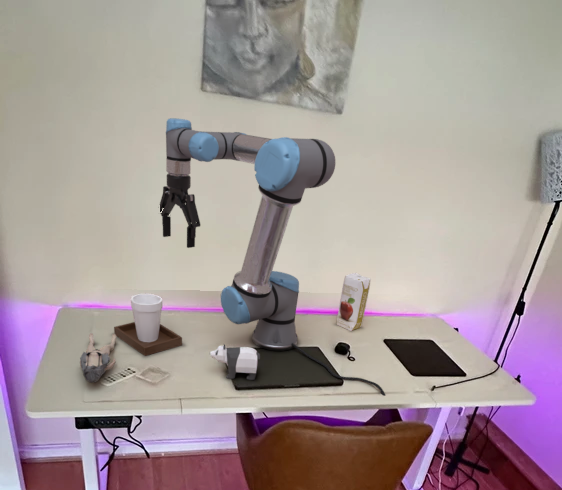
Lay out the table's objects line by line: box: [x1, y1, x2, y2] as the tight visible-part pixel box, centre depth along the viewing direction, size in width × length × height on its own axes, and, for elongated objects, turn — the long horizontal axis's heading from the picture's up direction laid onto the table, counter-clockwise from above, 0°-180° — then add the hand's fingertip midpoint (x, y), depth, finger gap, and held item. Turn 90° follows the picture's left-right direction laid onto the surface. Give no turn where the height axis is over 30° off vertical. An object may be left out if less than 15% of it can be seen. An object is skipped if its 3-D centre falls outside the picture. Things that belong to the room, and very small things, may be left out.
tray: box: [113, 321, 183, 357], centre depth 165 cm, size 18×14×3 cm
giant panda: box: [209, 343, 261, 381], centre depth 151 cm, size 15×6×10 cm, turn 93°
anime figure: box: [79, 333, 118, 383], centre depth 148 cm, size 10×7×30 cm
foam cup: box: [130, 292, 163, 342], centre depth 162 cm, size 10×9×13 cm
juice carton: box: [336, 272, 372, 332], centre depth 188 cm, size 8×9×19 cm
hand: (178, 241), depth 176 cm, fingers open, 13 cm apart
